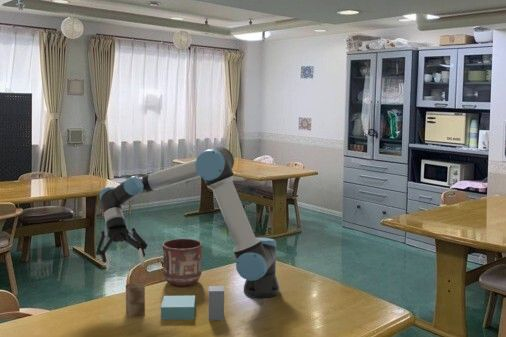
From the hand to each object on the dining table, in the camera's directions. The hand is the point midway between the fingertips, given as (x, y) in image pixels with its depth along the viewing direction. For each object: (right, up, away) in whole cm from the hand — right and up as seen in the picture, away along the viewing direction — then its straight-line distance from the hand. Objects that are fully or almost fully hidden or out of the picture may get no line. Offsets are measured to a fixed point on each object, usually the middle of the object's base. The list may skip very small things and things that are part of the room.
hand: (126, 266), depth 207 cm
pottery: (+18, -13, +28) cm, 36 cm away
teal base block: (+21, -17, -6) cm, 28 cm away
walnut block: (+5, -16, -7) cm, 19 cm away
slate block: (+36, -17, -9) cm, 41 cm away
